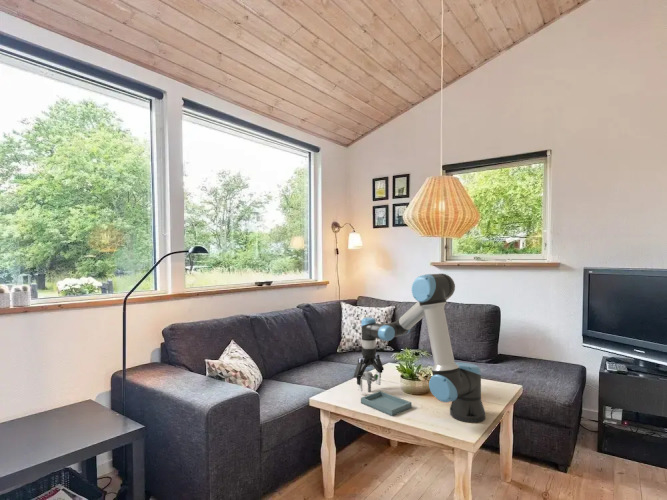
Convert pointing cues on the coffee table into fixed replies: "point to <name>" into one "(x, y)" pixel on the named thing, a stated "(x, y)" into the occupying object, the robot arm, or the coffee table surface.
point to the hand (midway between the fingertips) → (369, 387)
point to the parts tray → (386, 403)
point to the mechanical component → (369, 378)
